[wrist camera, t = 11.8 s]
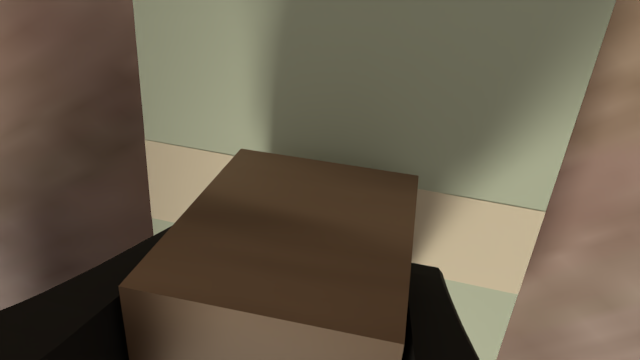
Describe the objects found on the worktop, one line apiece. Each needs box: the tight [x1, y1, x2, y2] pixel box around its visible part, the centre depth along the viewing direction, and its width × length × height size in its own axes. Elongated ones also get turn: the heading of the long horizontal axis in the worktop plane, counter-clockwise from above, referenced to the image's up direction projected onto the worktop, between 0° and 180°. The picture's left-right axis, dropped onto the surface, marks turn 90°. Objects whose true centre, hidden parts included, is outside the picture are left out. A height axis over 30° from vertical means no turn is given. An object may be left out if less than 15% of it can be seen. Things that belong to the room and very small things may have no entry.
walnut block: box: [118, 149, 419, 360], centre depth 10 cm, size 4×4×5 cm
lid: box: [133, 0, 616, 360], centre depth 13 cm, size 14×10×1 cm
